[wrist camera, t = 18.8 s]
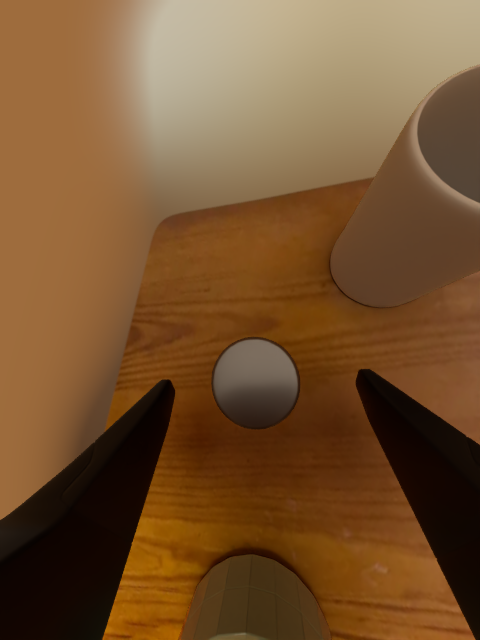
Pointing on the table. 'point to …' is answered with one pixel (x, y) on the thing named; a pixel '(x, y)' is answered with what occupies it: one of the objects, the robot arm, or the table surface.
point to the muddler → (255, 383)
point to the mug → (419, 204)
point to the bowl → (253, 604)
